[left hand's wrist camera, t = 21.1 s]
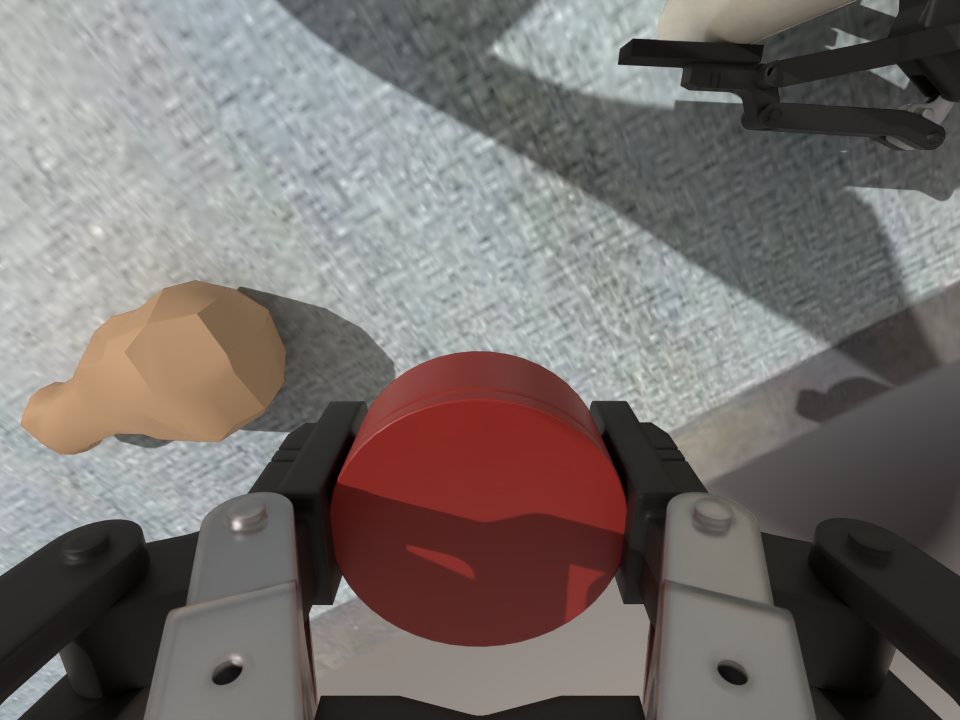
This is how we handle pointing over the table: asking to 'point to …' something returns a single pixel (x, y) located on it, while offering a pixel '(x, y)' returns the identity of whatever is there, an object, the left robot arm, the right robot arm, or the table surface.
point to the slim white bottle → (737, 18)
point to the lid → (478, 503)
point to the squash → (166, 373)
